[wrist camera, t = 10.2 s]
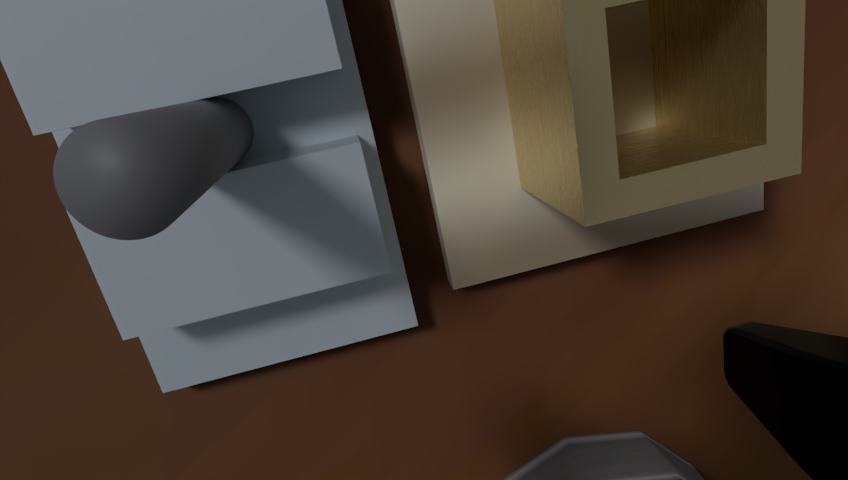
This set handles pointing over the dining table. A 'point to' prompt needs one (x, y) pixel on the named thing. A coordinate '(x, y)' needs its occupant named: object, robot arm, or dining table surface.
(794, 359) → the robot arm
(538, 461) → the can
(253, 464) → the dining table surface
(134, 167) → the vise
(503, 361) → the dining table surface
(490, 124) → the birch pad
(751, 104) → the brass sleeve
